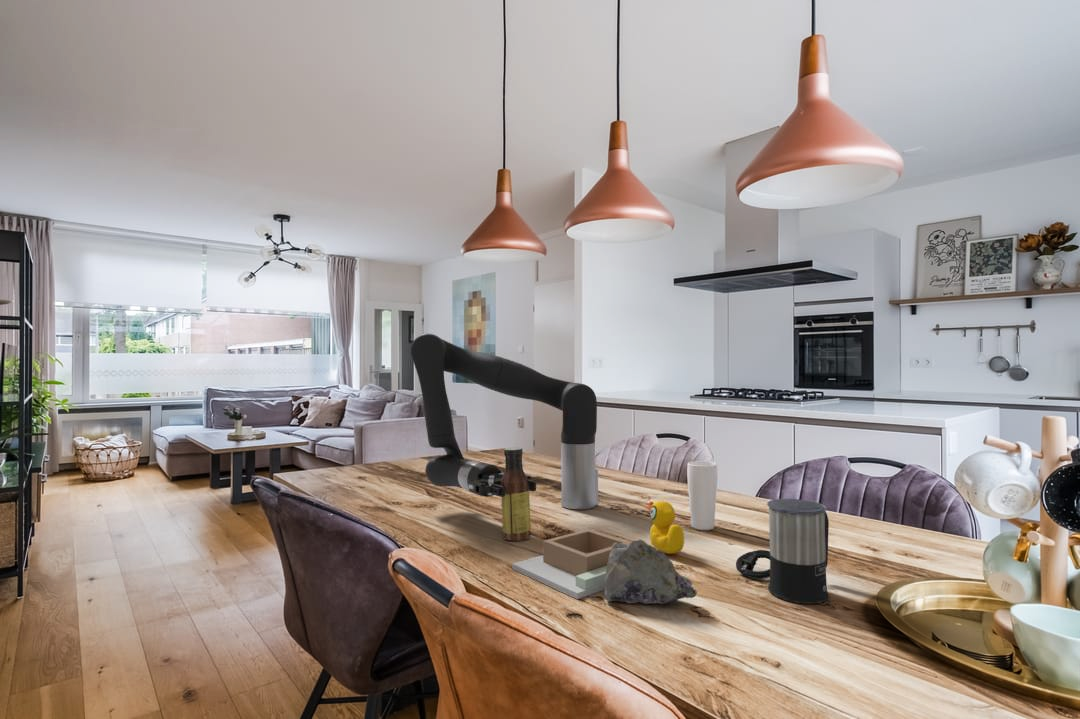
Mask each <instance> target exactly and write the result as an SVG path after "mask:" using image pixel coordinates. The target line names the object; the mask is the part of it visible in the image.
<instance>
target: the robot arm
mask: <svg viewBox="0 0 1080 719" xmlns="http://www.w3.org/2000/svg"><path fill="white" fill-rule="evenodd" d="M409 353H410V356H411V359H412V362H413V364H414V367H415V370H416V373H417V376H418V381H419V384H420V389H421V395H422V396H421V397H422V403H423V410H424V411H423V412H424V419H425V421H424V422H425V427H426V433H427V442H428V445H429V447H431V448H433V449H444V451H445V453H446V454H444V455H440V456H436V457H434V458H431V459H430V460H429V461H428V462H427V463H426V466H425V471H424V472H425V475H426V479H427V480H428V481H429V482H430V483H431V484H432V485H434V486H438V487H457V488H460V489H464V490H466V491H468V492H469V493H472V494H475V495H477V496H481V497H484V498H485V497H486V498H489V497H493V496H497V497H499V498H501V497H504V496H505V487H504V486H501V480H502V476H503V474H504V472H502V471H501V469H500V467H498V466H496V465H495V464H490V463H485V462H482V461H475V460H474V461H473V460H468V459H465V457H464V455H463V454H462V451H461V449H460V447H459V444H458V442H457V438H456V435H455V429H454V428H455V427H454V422H453V416H452V411H451V407H450V402H449V398H448V393H447V389H446V382H445V372H446V373H450V374H454V375H457V376H460V377H462V378H465V379H467V380H469V381H471V382H473V383H475V384H477V385H479V386H481V387H484V388H485V389H488V390H491V391H494V392H497V393H500V394H503V395H506V396H511V397H514V398H519V399H524V400H531V401H536V402H537V401H538V402H540V403H543V404H546V405H548V406H551V407H553V408H555V409H557V410H559V411H562V428H561V432H560V439H561V440H560V442H561V443H560V456H561V457H560V459H561V462H560V463H561V464H560V466H561V467H560V468H561V469H560V470H561V479H560V481H561V483H560V484H561V485H560V486H561V506H562V507H563V508H566V509H570V510H589V509H592V508H595V507H596V506H599V470H598V469H597V468H596V433H597V428H598V426H597V423H598V422H597V421H598V403H597V396H596V393H595V391H594V390H593V389H592V388H591V387H590V386H589V385H587V384H584V383H580V382H573V381H566V380H562V379H557V378H553V377H550V376H547V375H545V374H543V373H540V372H539V371H537V370H535V369H533V368H531V367H529V366H528V365H527V366H526V365H524V364H522V363H519V362H516V361H514V360H510V359H508V358H505V357H502V356H498V355H493V354H490V353H484V352H478V351H473V350H469V349H465V348H463V347H460V346H458V345H455V344H453V343H451V342H450V341H446V340H445V339H443V338H441V337H439V336H438V335H436V334H433V333H423V334H420V335H418V336H417V337H416V338H414V339H413V341H412V343H411V345H410V351H409ZM525 476H526V478H527V481H528V486H529V492H536V491H537V482H536V481H535V480H533V477H532V476H531V475H527V474H525Z"/></svg>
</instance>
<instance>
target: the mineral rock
mask: <svg viewBox="0 0 1080 719" xmlns="http://www.w3.org/2000/svg"><path fill="white" fill-rule="evenodd" d="M630 542H631V543H629V544H627V545H626V544H621V543H614V544H613V545H612V549H611V553H610V555H609V559H608V563H607V569H606V579H605V590H604V597H605V598H604V599H605V601H608V602H621V603H626V604H638V603H641V604H645V605H647V604H653V605H656V604H660V605H664V604H667V603H670V602H677V601H678V600H682V599H684V598H686V599H689V598H690V599H692V598H695V597H696V596H697V594H698V591H697V590H696V589H694V587H693V586H692V585H693V582H692V581H691V580H690V579H689V578H687V576H685V575H682V574H680V573H679V572H677V570H676V569H675V567H674V564H673V562H672V561H671V560H670V558H669V557H668V556H667V554H666V553H664V552H662V551H660V550H658V549H656V548H655V547H654V546H653V545H652V544H651V545H650V544H648V543H646V542H645V541H644V540H642V539H641V538H640V539H638V540H635V539H634V540H633V541H630Z"/></svg>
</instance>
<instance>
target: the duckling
mask: <svg viewBox="0 0 1080 719" xmlns="http://www.w3.org/2000/svg"><path fill="white" fill-rule="evenodd" d="M648 513H649V514H650V519H651V521H652V522H653V524H652V526H651V527H650V530H649V536H650V541H651V546H652V547H654V548H655V549H656V550H659V551H661V552H663V553H664V554H665V555H667V554H668V555H673V554H678V553H680V552H681V551H682V550H683V548H684V546H685V534H684V530H683V528H682V526H680V524H676V523H675V520H676V512H675V510H674V507H673V505H672V504H671V503H670V502H668V501H665V500H659V501H654V502H653V501H649V503H648ZM674 523H675V524H674Z"/></svg>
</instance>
